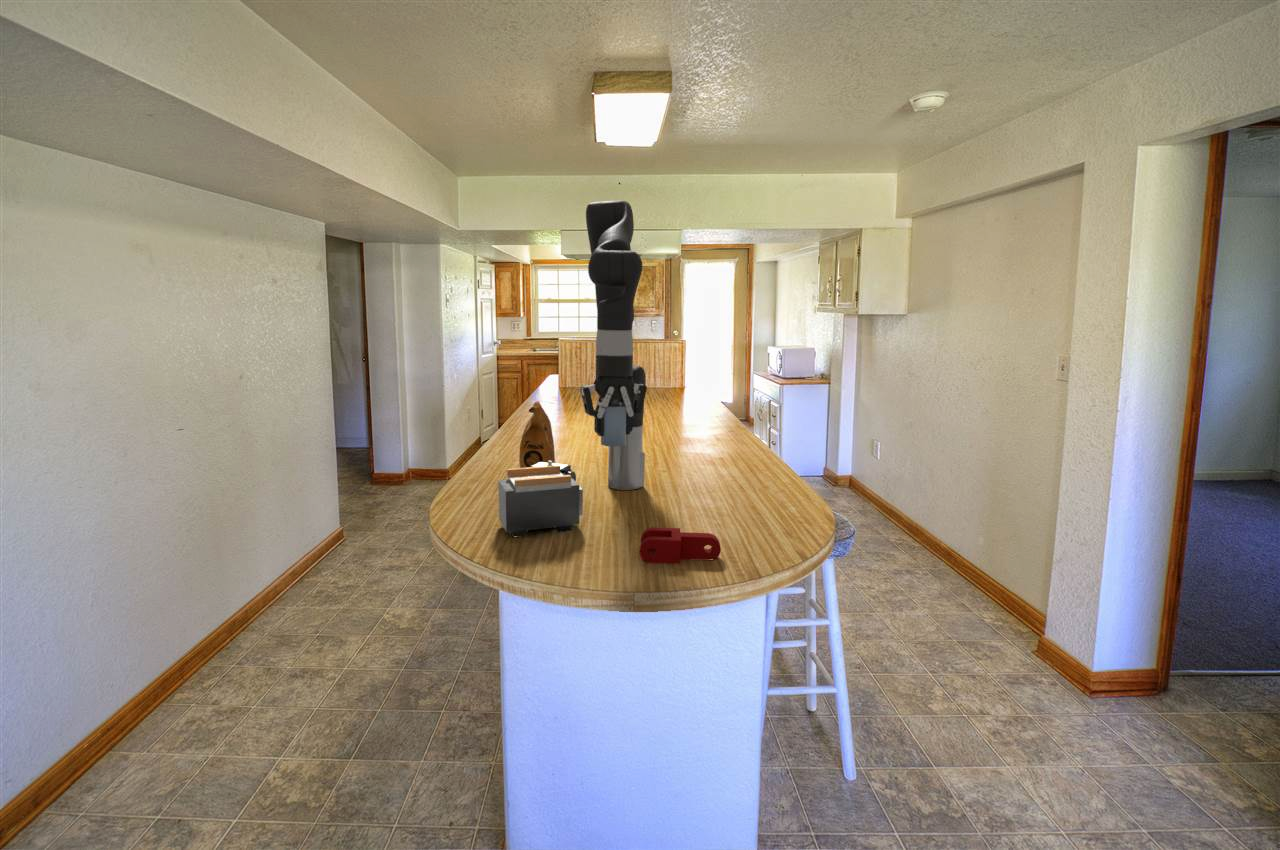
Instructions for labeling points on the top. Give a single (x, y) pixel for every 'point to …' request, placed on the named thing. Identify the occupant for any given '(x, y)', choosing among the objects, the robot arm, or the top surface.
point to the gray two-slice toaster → (539, 500)
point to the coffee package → (537, 439)
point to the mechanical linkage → (676, 545)
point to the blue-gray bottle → (614, 425)
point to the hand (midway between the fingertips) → (613, 434)
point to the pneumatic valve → (563, 468)
